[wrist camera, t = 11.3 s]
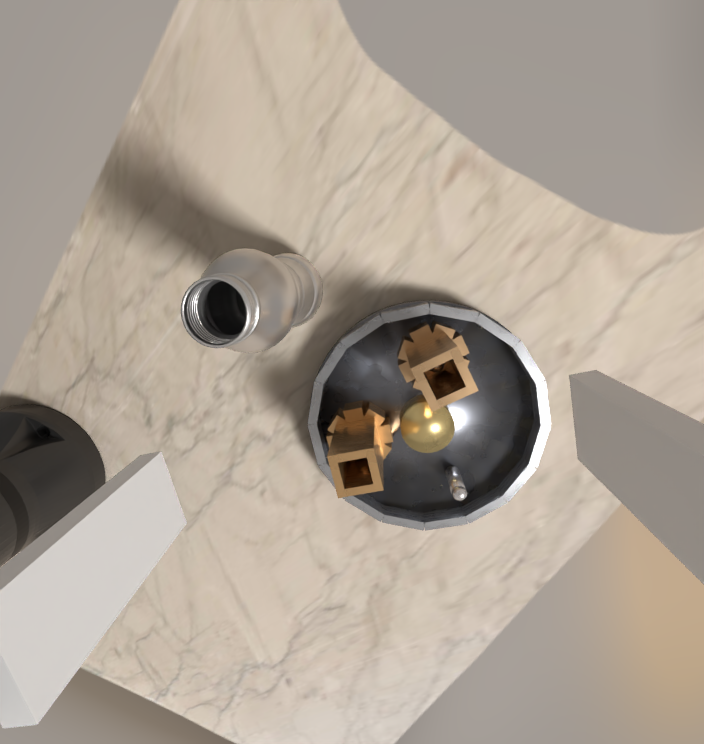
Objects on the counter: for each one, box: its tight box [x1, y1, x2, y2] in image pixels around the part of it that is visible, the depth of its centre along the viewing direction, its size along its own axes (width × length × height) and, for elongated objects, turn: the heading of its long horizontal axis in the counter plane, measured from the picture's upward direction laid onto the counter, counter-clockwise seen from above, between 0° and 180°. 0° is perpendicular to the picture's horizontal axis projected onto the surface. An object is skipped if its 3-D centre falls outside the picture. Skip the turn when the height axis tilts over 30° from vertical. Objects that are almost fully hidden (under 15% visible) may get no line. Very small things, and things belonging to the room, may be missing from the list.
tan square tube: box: [397, 321, 479, 412], centre depth 36 cm, size 6×6×9 cm
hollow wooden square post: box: [326, 400, 393, 498], centre depth 38 cm, size 6×6×9 cm
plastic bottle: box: [181, 248, 323, 353], centre depth 31 cm, size 6×7×20 cm
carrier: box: [308, 300, 551, 530], centre depth 40 cm, size 23×23×6 cm
